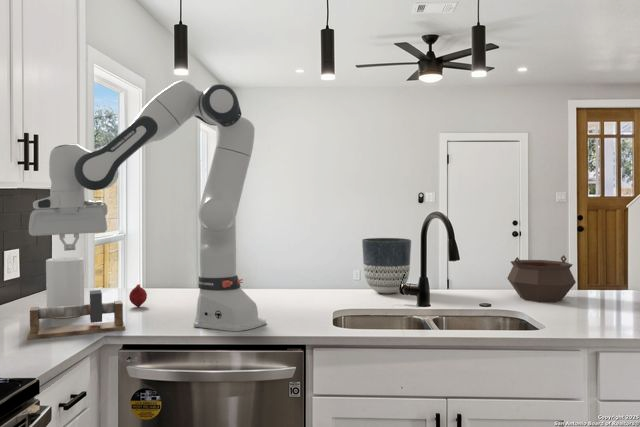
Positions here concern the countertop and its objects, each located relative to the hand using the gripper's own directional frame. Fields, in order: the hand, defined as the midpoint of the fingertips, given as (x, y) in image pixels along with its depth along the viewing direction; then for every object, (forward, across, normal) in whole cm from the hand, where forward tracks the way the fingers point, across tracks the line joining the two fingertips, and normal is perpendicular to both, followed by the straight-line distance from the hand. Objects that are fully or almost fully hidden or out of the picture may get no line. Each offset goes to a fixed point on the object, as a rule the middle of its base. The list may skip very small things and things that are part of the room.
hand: (69, 250), depth 155 cm
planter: (+26, -115, -17) cm, 119 cm away
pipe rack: (+24, -1, 0) cm, 24 cm away
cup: (+24, +2, -26) cm, 35 cm away
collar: (+21, -6, 0) cm, 22 cm away
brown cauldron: (+28, -160, +19) cm, 163 cm away
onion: (+24, -21, -30) cm, 44 cm away
